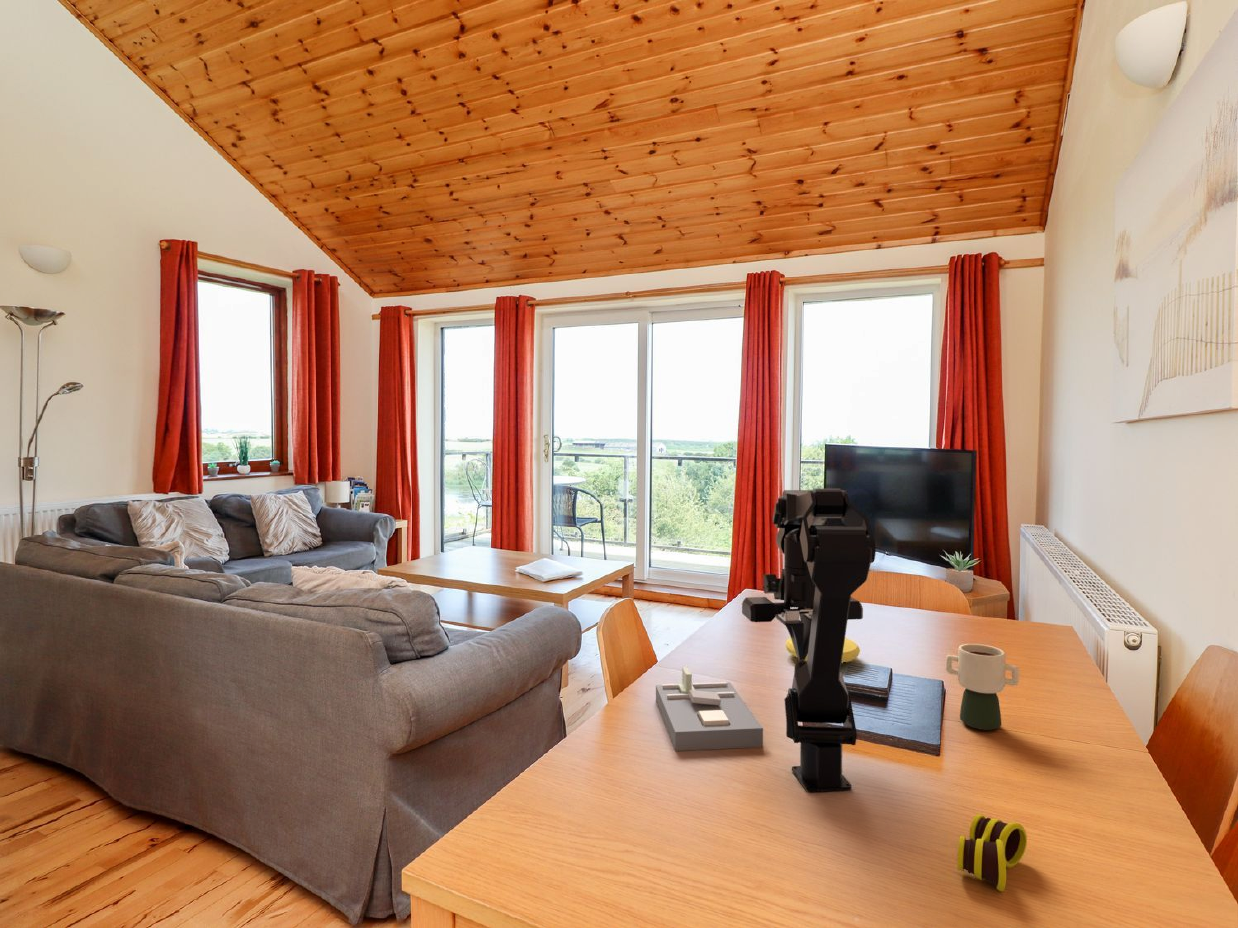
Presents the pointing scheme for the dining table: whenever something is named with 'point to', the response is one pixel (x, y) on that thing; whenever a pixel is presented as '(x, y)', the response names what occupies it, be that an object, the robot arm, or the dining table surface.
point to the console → (694, 736)
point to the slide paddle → (686, 681)
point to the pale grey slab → (704, 697)
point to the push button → (713, 718)
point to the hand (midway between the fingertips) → (801, 659)
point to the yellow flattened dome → (849, 650)
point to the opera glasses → (991, 849)
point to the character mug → (981, 683)
